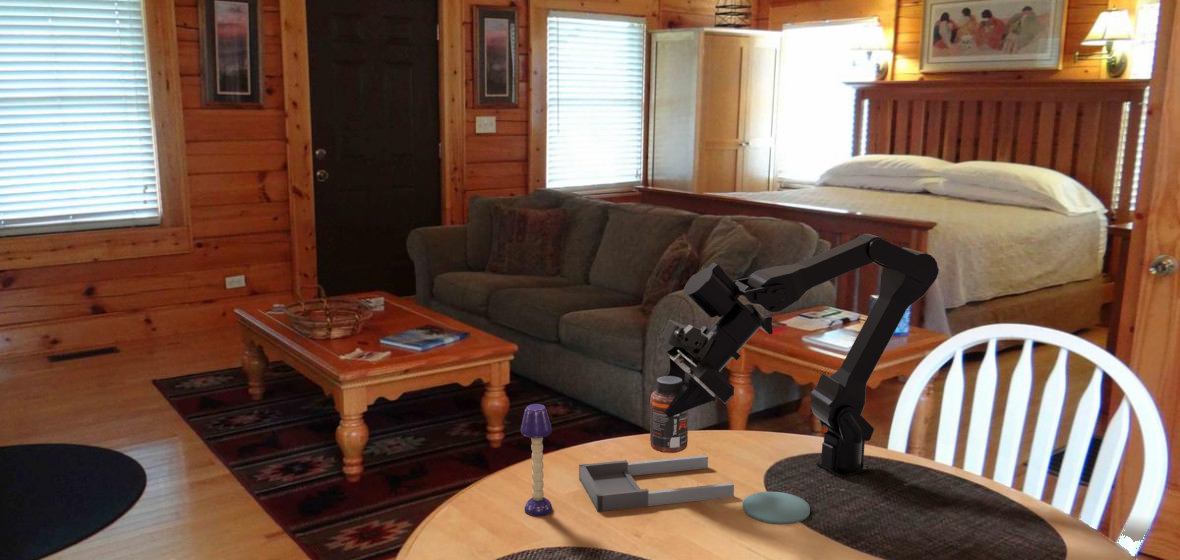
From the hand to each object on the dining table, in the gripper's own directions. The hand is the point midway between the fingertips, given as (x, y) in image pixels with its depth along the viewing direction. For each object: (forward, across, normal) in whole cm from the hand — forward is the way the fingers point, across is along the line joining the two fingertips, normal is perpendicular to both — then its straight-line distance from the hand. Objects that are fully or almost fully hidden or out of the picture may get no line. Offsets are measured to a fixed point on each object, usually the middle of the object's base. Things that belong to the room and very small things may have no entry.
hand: (660, 408), depth 150 cm
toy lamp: (+24, +4, -5) cm, 25 cm away
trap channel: (+10, 0, +9) cm, 13 cm away
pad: (-1, +12, +20) cm, 23 cm away
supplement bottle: (+4, 0, +6) cm, 7 cm away
